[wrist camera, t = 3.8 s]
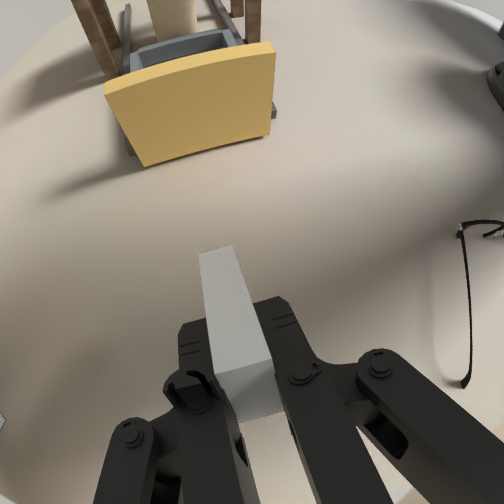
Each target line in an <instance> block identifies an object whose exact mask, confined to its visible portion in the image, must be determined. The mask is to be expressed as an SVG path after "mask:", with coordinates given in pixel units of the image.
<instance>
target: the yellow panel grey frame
mask: <svg viewBox="0 0 504 504" xmlns="http://www.w3.org/2000/svg"><path fill="white" fill-rule="evenodd" d="M217 48H223V49H217ZM213 49H217V50H213ZM208 50H213V51H208ZM203 51H208V52H203ZM199 52H203V53H199ZM194 53H199V54H194ZM190 54H194V55H190ZM186 55H190V56H186ZM182 56H186V57H182ZM178 57H182V58H178ZM174 58H178V59H174ZM171 59H174V60H171ZM275 59H276V51H275V50H274V48H273V46H272V45H271V43H270V42H269V41H267V42H260V43H252V44H246V45H239V46H238V45H237V43H236V41H235V39H234V37H233V35H232V33H231V31H230V29H225V30H221V29H220V28H219V29H214V30H208V31H204V32H199V33H194V34H190V35H186V36H181V37H177V38H174V39H170V40H166V41H162V42H159V43H155V44H152V45H149V46H145V47H142V48H139V49H138V51H136V52H133V53H130V73H128V74H126V75H123V76H120V77H117V78H114V79H112V80H109V81H106V82H105V87H104V96H105V98H106V100H107V101H108V103H109V105H110V107H111V109H112V111H113V113H114V114H115V116H116V118H117V120H118V122H119V123H120V125H121V127H122V129H123V131H124V132H125V134H126V136H127V138H128V140H129V141H130V143H131V145H132V147H133V148H134V150H135V152H136V154H137V155H138V157H139V159H140V161H141V162H142V164H143V166H144V167H146V166H150V165H153V164H156V163H159V162H163V161H166V160H169V159H173V158H176V157H180V156H183V155H187V154H190V153H194V152H198V151H201V150H205V149H209V148H213V147H217V146H221V145H225V144H229V143H233V142H237V141H242V140H246V139H251V138H255V137H260V136H265V135H270V123H271V111H272V98H273V85H274V72H275ZM167 60H171V61H167ZM163 61H167V62H164V63H160V62H163ZM157 63H160V64H157ZM153 64H157V65H153ZM150 65H153V66H150ZM147 66H150V67H147ZM144 67H147V68H144ZM143 68H144V69H143Z"/></svg>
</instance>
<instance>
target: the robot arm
mask: <svg viewBox="0 0 504 504" xmlns="http://www.w3.org/2000/svg"><path fill="white" fill-rule="evenodd" d="M487 80H488V84H489V86H490V89H491V91H492V93H493V94H494V96H495V98H496V99H497V101H498V102H499V104H500V105H501V106H502V108H503V109H504V60H503V61H501V62H499V63H498V64H496V65H495V66H493V68H492V69H491V70H490V72H489V73H488V75H487ZM198 257H199V266H200V274H201V283H202V291H203V298H204V306H205V313H206V318H203V319H200V320H196V321H192V322H188V323H185V324H183V325H182V327H181V329H180V331H179V334H178V347H179V348H178V354H179V370H177V371H176V372H174V373H173V374H172V375H171V376H169V378H168V379H167V381H166V382H165V384H164V388H163V393H164V394H165V396H166V397H167V398H168V400H169V401H170V402H171V404H172V405H173V406H174V407H173V408H172V409H171V410H170V411H169V412H167V413H166V414H164V415H162V416H160V417H158V418H156V419H154V420H152V421H150V422H147V421H146V420H145V419H142V418H138V417H135V418H129V419H126V420H124V421H122V422H121V423H120V424H119V425H118V426H117V427H116V428H115V430H114V432H113V434H112V437H111V440H110V444H109V447H108V450H107V454H106V457H105V460H104V464H103V468H102V471H101V475H100V478H99V482H98V486H97V490H96V493H95V497H94V501H93V504H260V500H259V496H258V493H257V489H256V485H255V481H254V478H253V474H252V470H251V466H250V462H249V458H248V454H247V450H246V446H245V442H244V438H243V436H242V434H241V432H240V430H239V425H238V422H239V423H242V422H246V421H250V420H254V419H257V418H261V417H265V416H268V415H271V414H275V413H278V412H282V411H285V413H286V416H287V420H288V423H289V427H290V431H291V435H292V436H293V438H294V441H295V444H296V447H297V450H298V453H299V455H300V458H301V461H302V464H303V467H304V470H305V472H306V475H307V478H308V481H309V483H310V486H311V489H312V492H313V495H314V497H315V500H316V503H317V504H393V502H392V499H391V497H390V495H389V493H388V491H387V489H386V487H385V485H384V483H383V481H382V479H381V477H380V475H379V473H378V471H377V469H376V467H375V465H374V463H373V461H372V458H371V456H370V454H369V452H368V450H367V448H366V446H365V444H364V442H363V440H362V438H361V436H360V434H359V432H358V430H357V428H356V426H357V427H358V428H359V429H360V430H361V431H362V432H363V434H364V435H365V436H366V437H367V438H368V439H369V440H370V441H371V442H372V443H373V444H374V445H375V447H376V448H377V449H378V450H379V451H380V452H381V453H382V454H383V455H384V456H385V457H386V458H387V459H388V460H389V461H390V463H391V464H392V465H393V466H394V467H395V468H396V469H397V470H398V471H399V472H400V473H401V474H402V475H403V476H404V477H405V478H406V479H407V480H408V481H409V482H410V483H411V485H412V486H413V487H414V488H416V490H417V491H418V492H419V493H420V494H421V495H422V496H423V497H424V498H425V499H426V500H427V501H428V502H429V503H430V504H504V443H503V442H502V441H501V440H499V439H498V438H497V437H496V436H495V435H494V434H493V433H491V432H490V431H489V430H488V429H487V428H486V427H484V426H483V425H482V424H481V423H480V422H479V421H477V420H476V419H475V418H474V417H473V416H471V415H470V414H469V413H468V412H467V411H466V410H464V409H463V408H462V407H461V406H460V405H458V404H457V403H456V402H455V401H454V400H453V399H451V398H450V397H449V396H448V395H447V394H445V393H444V392H443V391H442V390H441V389H439V388H438V387H437V386H436V385H435V384H433V383H432V382H431V381H430V380H429V379H427V378H426V377H425V376H424V375H423V374H421V373H420V372H419V371H418V370H417V369H415V368H414V367H413V366H412V365H411V364H409V363H408V362H407V361H406V360H405V359H403V358H402V357H401V356H400V355H399V354H397V353H395V352H393V351H392V350H388V349H383V348H381V349H373V350H371V351H369V352H366V353H365V354H364V355H363V356H362V357H361V358H360V359H359V361H358V363H351V364H330V363H326V362H324V361H322V360H320V359H319V358H318V357H316V355H315V354H314V352H313V351H312V349H311V347H310V345H309V343H308V341H307V339H306V337H305V335H304V333H303V331H302V329H301V327H300V325H299V323H298V321H297V319H296V317H295V315H294V313H293V311H292V309H291V307H290V305H289V303H288V302H286V301H285V300H284V299H282V298H281V297H279V296H277V297H274V298H270V299H267V300H264V301H260V302H257V303H253V304H252V301H251V298H250V295H249V292H248V289H247V286H246V283H245V280H244V277H243V275H242V272H241V269H240V266H239V263H238V260H237V257H236V254H235V251H234V248H233V245H228V246H225V247H221V248H218V249H214V250H211V251H207V252H204V253H200V254H198ZM237 420H238V421H237Z"/></svg>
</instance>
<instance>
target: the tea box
mask: <svg viewBox="0 0 504 504" xmlns="http://www.w3.org/2000/svg"><path fill="white" fill-rule="evenodd" d="M4 421H5V419H4V418H3V416H2V415H1V414H0V430H1V428H2V426H3V424H4Z"/></svg>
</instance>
